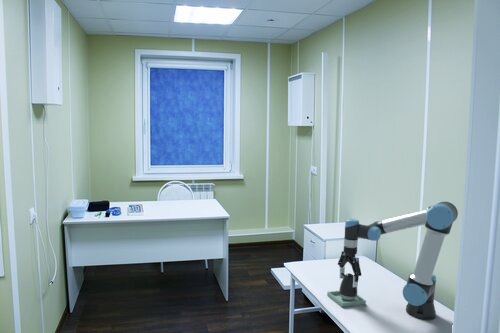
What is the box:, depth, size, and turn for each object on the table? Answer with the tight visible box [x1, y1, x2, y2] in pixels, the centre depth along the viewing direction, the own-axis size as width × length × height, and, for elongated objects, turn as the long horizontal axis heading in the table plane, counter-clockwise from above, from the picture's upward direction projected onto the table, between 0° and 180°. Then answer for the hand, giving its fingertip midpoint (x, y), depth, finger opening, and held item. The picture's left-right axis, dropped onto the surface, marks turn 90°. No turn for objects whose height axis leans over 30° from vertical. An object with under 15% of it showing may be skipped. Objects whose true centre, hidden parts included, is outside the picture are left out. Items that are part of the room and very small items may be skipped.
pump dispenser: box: [338, 273, 358, 301], centre depth 232 cm, size 10×10×15 cm
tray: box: [326, 290, 367, 308], centre depth 232 cm, size 16×16×2 cm
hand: (348, 282), depth 231 cm, fingers open, 13 cm apart
